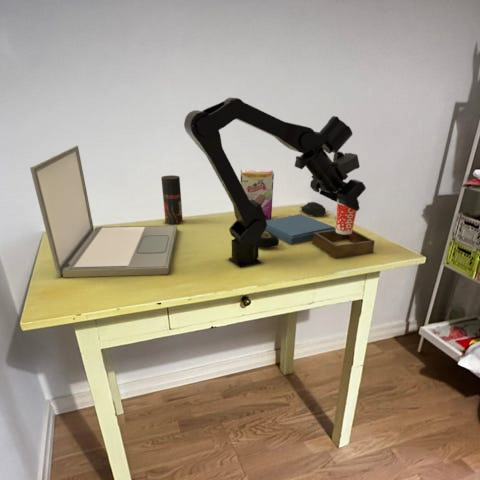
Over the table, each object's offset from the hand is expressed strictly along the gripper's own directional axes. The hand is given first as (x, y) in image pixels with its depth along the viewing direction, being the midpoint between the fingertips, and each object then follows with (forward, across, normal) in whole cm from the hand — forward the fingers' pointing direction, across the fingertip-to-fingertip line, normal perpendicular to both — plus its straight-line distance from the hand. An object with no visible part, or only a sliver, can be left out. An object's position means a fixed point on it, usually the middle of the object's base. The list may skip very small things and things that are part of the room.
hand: (351, 206), depth 112 cm
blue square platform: (+4, +18, +13) cm, 23 cm away
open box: (+8, 0, +9) cm, 12 cm away
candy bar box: (-1, +35, +19) cm, 40 cm away
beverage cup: (+4, 0, +6) cm, 7 cm away
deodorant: (-21, +42, +38) cm, 61 cm away
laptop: (-34, +20, +52) cm, 65 cm away
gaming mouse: (+15, +37, +2) cm, 40 cm away
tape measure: (-6, +9, +24) cm, 26 cm away
